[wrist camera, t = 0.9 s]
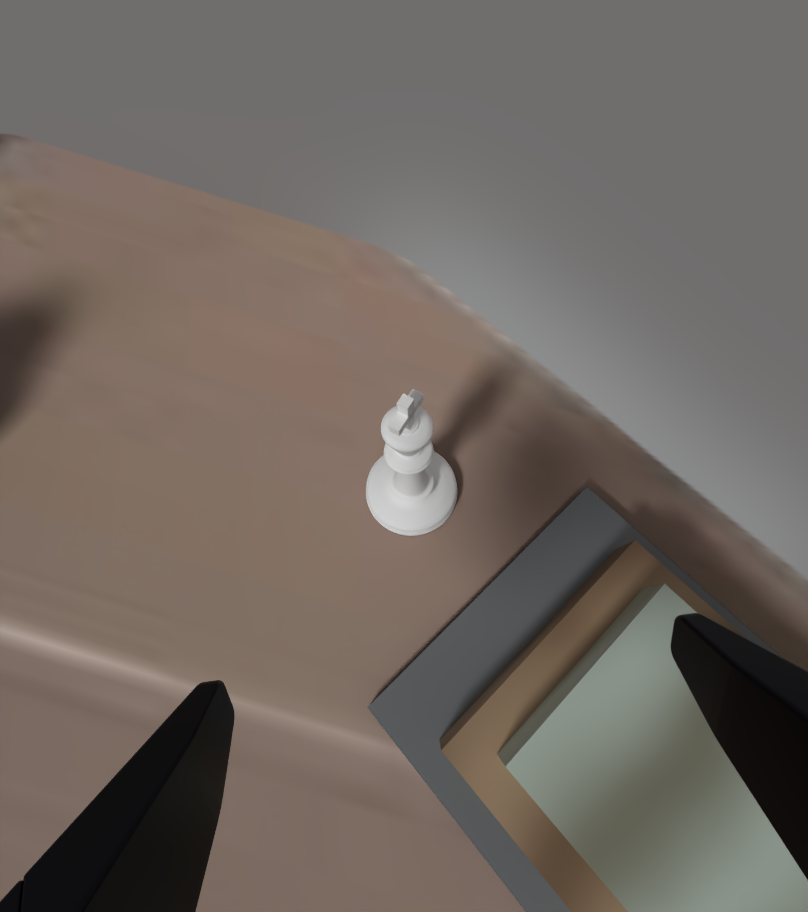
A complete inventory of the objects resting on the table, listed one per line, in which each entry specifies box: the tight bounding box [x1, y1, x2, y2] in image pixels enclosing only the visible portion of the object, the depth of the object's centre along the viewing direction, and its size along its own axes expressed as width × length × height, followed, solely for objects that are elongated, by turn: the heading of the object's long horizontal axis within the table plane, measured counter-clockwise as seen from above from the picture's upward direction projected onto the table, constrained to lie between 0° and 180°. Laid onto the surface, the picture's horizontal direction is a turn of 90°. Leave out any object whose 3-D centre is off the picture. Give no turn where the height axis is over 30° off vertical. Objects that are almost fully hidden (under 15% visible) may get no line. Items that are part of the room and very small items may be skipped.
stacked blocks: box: [439, 540, 808, 912], centre depth 18 cm, size 12×12×4 cm
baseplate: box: [368, 487, 782, 912], centre depth 20 cm, size 18×15×1 cm
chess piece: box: [366, 389, 457, 536], centre depth 20 cm, size 5×5×10 cm
